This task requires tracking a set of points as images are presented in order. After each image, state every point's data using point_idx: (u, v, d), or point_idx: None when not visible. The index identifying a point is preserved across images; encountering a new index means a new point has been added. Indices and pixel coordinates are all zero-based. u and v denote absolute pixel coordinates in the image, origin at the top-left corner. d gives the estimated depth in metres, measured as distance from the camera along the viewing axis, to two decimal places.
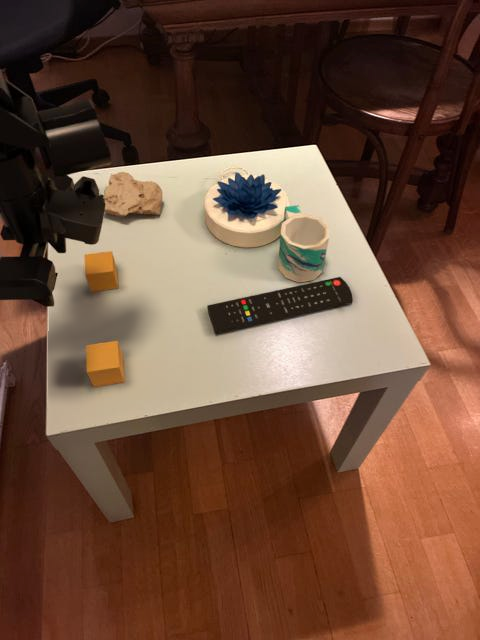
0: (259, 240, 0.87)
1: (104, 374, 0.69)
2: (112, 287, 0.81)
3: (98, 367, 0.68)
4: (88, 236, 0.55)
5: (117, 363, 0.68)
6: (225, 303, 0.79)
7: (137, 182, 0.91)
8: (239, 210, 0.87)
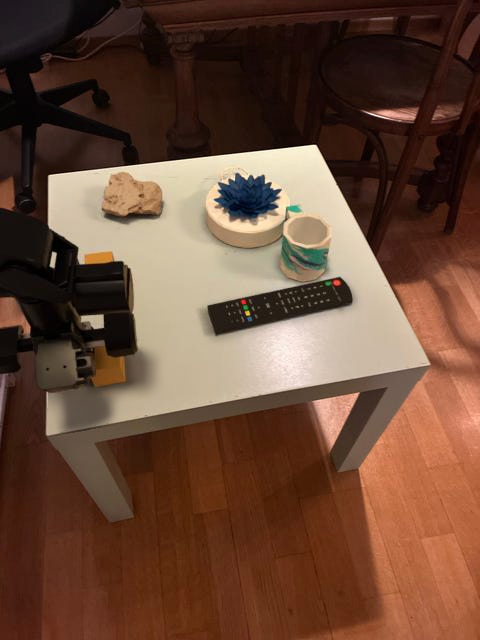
0: (261, 240, 0.87)
1: (105, 374, 0.69)
2: None
3: (99, 367, 0.68)
4: None
5: (118, 363, 0.68)
6: (225, 303, 0.79)
7: (137, 182, 0.91)
8: (240, 210, 0.87)
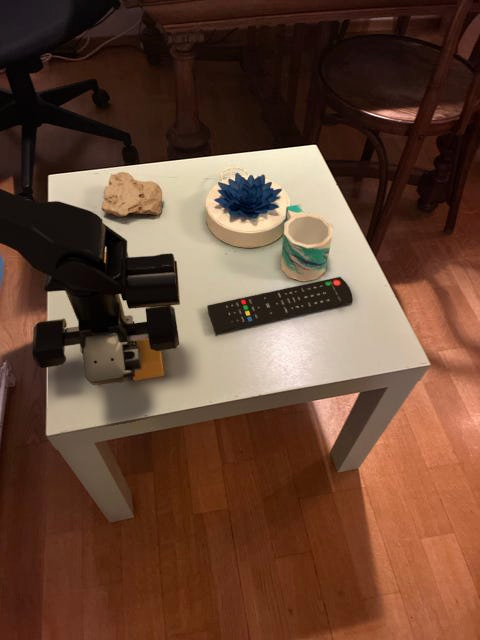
0: (262, 240, 0.87)
1: (145, 368, 0.70)
2: None
3: None
4: None
5: (158, 357, 0.69)
6: (225, 303, 0.79)
7: (137, 182, 0.91)
8: (240, 210, 0.87)
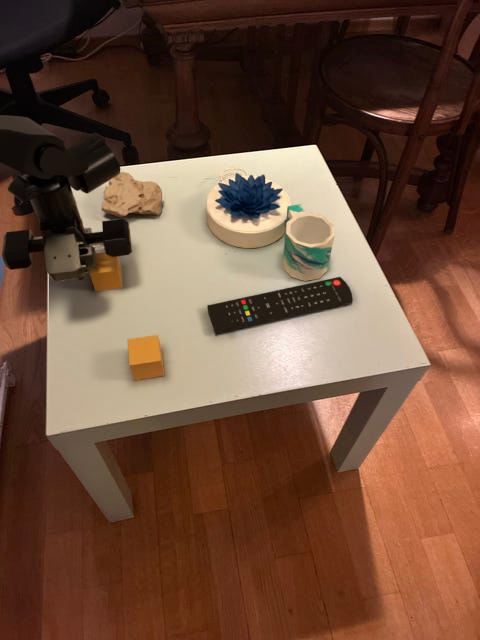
0: (263, 240, 0.87)
1: (145, 368, 0.70)
2: (116, 286, 0.82)
3: (140, 360, 0.69)
4: None
5: (159, 357, 0.69)
6: (225, 303, 0.79)
7: (137, 182, 0.91)
8: (242, 211, 0.87)
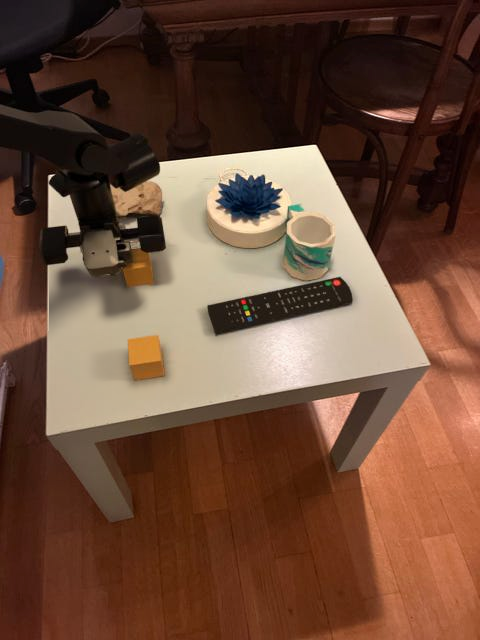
0: (264, 240, 0.87)
1: (145, 368, 0.70)
2: (148, 282, 0.82)
3: (140, 360, 0.69)
4: None
5: (159, 357, 0.69)
6: (225, 303, 0.79)
7: None
8: (242, 211, 0.87)
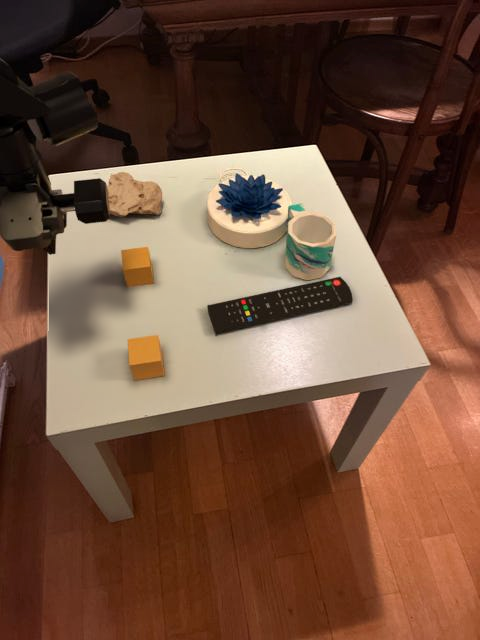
0: (265, 240, 0.87)
1: (145, 368, 0.70)
2: (148, 282, 0.82)
3: (140, 360, 0.69)
4: None
5: (159, 357, 0.69)
6: (225, 303, 0.79)
7: (137, 182, 0.91)
8: (242, 211, 0.87)
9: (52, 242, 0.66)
